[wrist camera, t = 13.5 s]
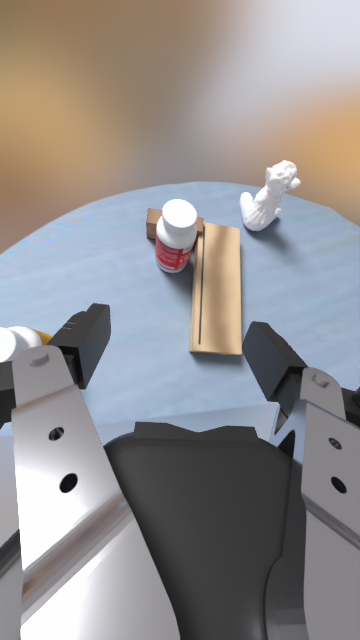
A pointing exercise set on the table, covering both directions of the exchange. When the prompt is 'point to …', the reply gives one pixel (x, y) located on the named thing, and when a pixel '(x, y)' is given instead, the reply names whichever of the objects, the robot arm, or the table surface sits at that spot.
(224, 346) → the wooden l-shaped block
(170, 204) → the pill bottle
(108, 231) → the table surface
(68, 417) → the robot arm
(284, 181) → the seated beast figurine
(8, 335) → the supplement bottle
